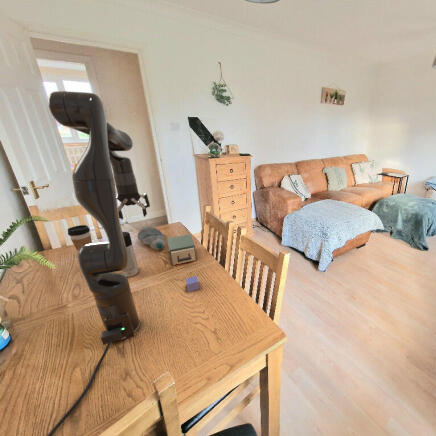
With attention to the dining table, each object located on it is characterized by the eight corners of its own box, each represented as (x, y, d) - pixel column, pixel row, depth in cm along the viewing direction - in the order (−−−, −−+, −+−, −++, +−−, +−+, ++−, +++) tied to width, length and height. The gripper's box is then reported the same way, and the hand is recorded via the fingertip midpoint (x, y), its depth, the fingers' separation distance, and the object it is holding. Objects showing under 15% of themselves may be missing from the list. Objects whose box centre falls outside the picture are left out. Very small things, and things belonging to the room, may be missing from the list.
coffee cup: (71, 255, 121) (61, 229, 115) (89, 248, 129) (80, 222, 123) (83, 259, 119) (74, 232, 113) (100, 251, 127) (92, 225, 121)
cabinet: (196, 259, 123) (194, 245, 120) (171, 265, 118) (169, 249, 114) (192, 247, 134) (190, 234, 130) (169, 252, 128) (167, 238, 125)
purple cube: (199, 289, 102) (198, 281, 101) (188, 292, 100) (187, 284, 99) (197, 283, 106) (196, 275, 104) (187, 286, 104) (185, 278, 102)
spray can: (142, 269, 113) (133, 231, 105) (132, 278, 107) (121, 238, 99) (129, 268, 114) (119, 230, 106) (118, 276, 107) (106, 237, 100)
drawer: (197, 265, 117) (195, 253, 114) (174, 270, 112) (171, 258, 110) (192, 248, 131) (190, 237, 128) (171, 253, 126) (169, 241, 123)
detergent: (135, 239, 140) (145, 256, 123) (134, 227, 138) (144, 243, 120) (160, 234, 148) (172, 250, 131) (159, 224, 146) (172, 238, 129)
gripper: (103, 186, 95) (113, 223, 101) (145, 182, 102) (152, 217, 108) (106, 181, 101) (115, 217, 107) (145, 179, 108) (151, 212, 114)
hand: (133, 217), depth 108 cm, fingers open, 8 cm apart
